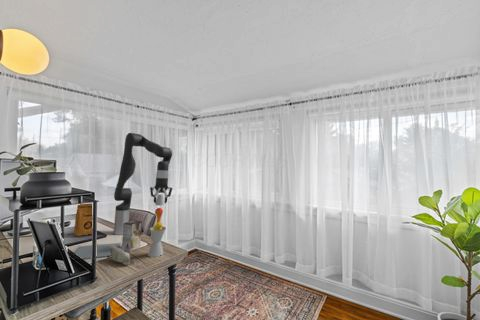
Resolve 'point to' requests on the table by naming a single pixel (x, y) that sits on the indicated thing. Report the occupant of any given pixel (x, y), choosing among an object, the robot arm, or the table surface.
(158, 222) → the lava lamp
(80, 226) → the coffee package
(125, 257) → the decorative bird
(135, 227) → the coffee box
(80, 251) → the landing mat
